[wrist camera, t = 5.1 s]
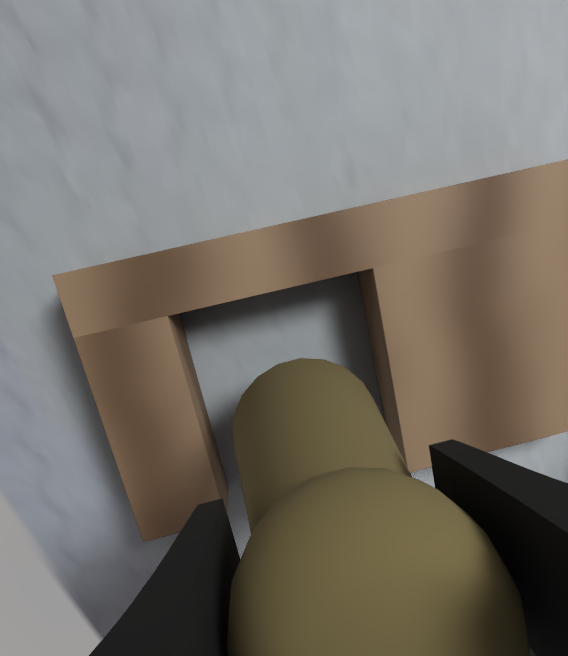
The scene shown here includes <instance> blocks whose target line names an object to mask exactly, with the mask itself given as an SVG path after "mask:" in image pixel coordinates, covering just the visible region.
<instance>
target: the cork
mask: <svg viewBox="0 0 568 656" xmlns="http://www.w3.org/2000/svg"><path fill="white" fill-rule="evenodd" d="M232 440H233V445H234V450H235V455H236V460H237V465H238V470H239V475H240V480H241V485H242V490H243V495H244V500H245V505H246V510H247V515H248V520H249V525H250V530H251V536H250V538H249V541H248V543H247V545H246V548H245V550H244V553H243V555H242V557H241V560H240V562H239V565H238V567H237V569H236V572H235V574H234V577H233V579H232V583H231V593H230V603H229V619H228V636H227V653H228V656H530V652H529V641H528V633H527V628H526V622H525V617H524V612H523V606H522V601H521V596H520V593H519V591H518V589H517V587H516V585H515V583H514V581H513V579H512V577H511V575H510V573H509V571H508V569H507V567H506V565H505V564H504V562H503V560H502V559H501V557H500V555H499V554H498V552H497V550H496V549H495V547H494V545H493V544H492V542H491V540H490V539H489V537H488V535H487V534H486V532H485V531H484V530H483V529H482V528H481V527H480V526H479V525H478V524H477V523H476V522H475V521H474V520H473V519H472V518H471V517H470V515H469V514H467V513H466V512H465V511H464V510H462V509H461V508H460V507H459V506H458V505H456V504H455V503H454V502H453V501H451V500H450V499H449V498H448V497H446V496H445V495H444V494H443V493H441V492H440V491H439V490H438V489H436V488H434V487H432V486H430V485H428V484H426V483H424V482H422V481H420V480H417V479H415V478H412V476H411V474H410V472H409V470H408V468H407V466H406V464H405V462H404V460H403V458H402V456H401V454H400V452H399V450H398V447H397V445H396V443H395V441H394V439H393V437H392V435H391V433H390V431H389V429H388V427H387V425H386V423H385V421H384V419H383V417H382V415H381V413H380V411H379V409H378V407H377V405H376V403H375V401H374V399H373V398H372V396H371V394H370V393H369V391H368V390H367V388H366V386H365V385H364V383H363V382H362V381H361V380H360V379H358V378H357V377H356V376H355V375H354V374H352V373H351V372H350V371H349V370H348V369H346V368H345V367H342V366H339V365H337V364H334V363H332V362H329V361H327V360H323V359H305V358H300V359H296V360H292V361H288V362H284V363H281V364H277V365H276V366H274V367H272V368H271V369H269V370H268V371H266V372H265V373H263V374H261V375H260V376H258V377H257V378H256V379H255V380H254V382H253V383H252V384H251V385H250V386H249V388H248V389H247V390H246V391H245V392H244V394H243V395H242V397H241V399H240V402H239V404H238V407H237V409H236V412H235V414H234V418H233V436H232Z"/></svg>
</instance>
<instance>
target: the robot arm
mask: <svg viewBox="0 0 568 656" xmlns="http://www.w3.org/2000/svg"><path fill="white" fill-rule="evenodd" d="M429 451H430V457H431V464H432V470H433V476H434V482H435V488H436V489H438V490H439V491H440V492H441V493H443V494H444V495H445V496H446V497H448V498H449V499H450V500H451V501H453V502H454V503H455V504H456V505H458V506H459V507H460V508H461V509H462V510H464V511H465V512H466V513H467V514H469V515H470V517H471V518H472V519H473V520H474V521H475V522H476V523H477V524H478V525H479V526H480V527H481V528H482V529H483V530H484V531H485V532H486V534H487V535H488V537H489V539H490V540H491V542H492V544H493V545H494V547H495V549H496V550H497V552H498V554H499V555H500V557H501V559H502V560H503V562H504V564H505V565H506V567H507V569H508V571H509V573H510V575H511V577H512V579H513V581H514V583H515V585H516V587H517V589H518V591H519V593H520V596H521V601H522V606H523V612H524V617H525V622H526V628H527V633H528V641H529V646H530V647H531V649H532V650H533V652H534V653H535V654H536V656H568V483H565V482H562V481H559V480H556V479H553V478H551V477H548V476H545V475H543V474H540V473H537V472H535V471H532V470H529V469H527V468H524V467H522V466H519V465H517V464H514V463H512V462H509V461H507V460H504V459H502V458H499V457H497V456H494V455H492V454H490V453H487V452H485V451H482V450H480V449H477V448H475V447H472V446H470V445H467V444H465V443H462V442H459V441H456V440H453V439H451V440H447V441H443V442H439V443H435V444H431V445H429ZM239 562H240V557H239V554H238V550H237V547H236V543H235V540H234V536H233V533H232V529H231V526H230V522H229V519H228V515H227V512H226V508H225V505H224V501H223V498H222V499H218V500H214V501H210V502H206V503H202V504H198V505H197V507H196V508H195V510H194V511H193V513H192V514H191V516H190V517H189V519H188V521H187V522H186V524H185V525H184V527H183V529H182V530H181V532H180V533H179V535H178V537H177V538H176V540H175V541H174V543H173V544H172V546H171V548H170V549H169V551H168V552H167V554H166V555H165V557H164V558H163V560H162V561H161V563H160V564H159V566H158V567H157V569H156V570H155V572H154V573H153V575H152V576H151V577H150V579H149V580H148V582H147V583H146V584H145V586H144V587H143V588H142V590H141V591H140V593H139V594H138V595H137V597H136V598H135V599H134V601H133V602H132V604H131V605H130V606H129V608H128V609H127V610H126V612H125V613H124V614H123V615H122V617H121V618H120V619H119V620H118V622H117V623H116V624H115V625H114V627H113V628H112V629H111V630H110V632H109V633H108V634H107V635H106V636H105V637H104V639H103V640H102V641H101V642H100V643H99V644H98V646H97V647H96V648H95V649H94V650H93V651H92V653H91V654H90V655H89V656H228V653H227V636H228V619H229V603H230V593H231V583H232V579H233V577H234V574H235V572H236V569H237V567H238V565H239Z"/></svg>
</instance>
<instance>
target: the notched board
mask: <svg viewBox="0 0 568 656" xmlns="http://www.w3.org/2000/svg"><path fill="white" fill-rule="evenodd" d="M354 272H358V276H359V281H360V287H361V292H362V298H363V303H364V309H365V314H366V320H367V325H368V331H369V337H370V342H371V348H372V353H373V359H374V364H375V370H376V375H377V381H378V386H379V392H380V397H381V403H382V408H383V414H384V419H385V423H386V425H387V427H388V429H389V431H390V433H391V435H392V437H393V439H394V441H395V443H396V445H397V447H398V450H399V452H400V454H401V456H402V458H403V460H404V462H405V464H406V466H407V468H408V470H409V472H413V471H417V470H421V469H425V468H429V467H432V464H431V457H430V451H429V445H431V444H435V443H439V442H443V441H447V440H451V439H453V440H456V441H459V442H462V443H465V444H467V445H470V446H472V447H475V448H477V449H480V450H482V451H485V452H490V451H494V450H498V449H501V448H505V447H509V446H513V445H517V444H521V443H525V442H528V441H532V440H536V439H540V438H544V437H548V436H551V435H555V434H559V433H563V432H567V431H568V160H564V161H559V162H555V163H550V164H546V165H541V166H537V167H532V168H528V169H524V170H519V171H515V172H510V173H506V174H501V175H497V176H492V177H488V178H484V179H479V180H475V181H470V182H466V183H461V184H457V185H452V186H448V187H444V188H439V189H435V190H430V191H426V192H421V193H417V194H412V195H408V196H404V197H399V198H395V199H390V200H386V201H381V202H377V203H372V204H368V205H364V206H359V207H355V208H350V209H346V210H341V211H337V212H332V213H328V214H324V215H319V216H315V217H310V218H306V219H301V220H297V221H292V222H288V223H284V224H279V225H275V226H270V227H266V228H261V229H257V230H252V231H248V232H244V233H239V234H235V235H230V236H226V237H221V238H217V239H212V240H208V241H204V242H199V243H195V244H190V245H186V246H181V247H177V248H172V249H168V250H163V251H159V252H155V253H150V254H146V255H141V256H137V257H132V258H128V259H123V260H119V261H115V262H110V263H106V264H101V265H97V266H92V267H88V268H83V269H79V270H75V271H70V272H66V273H61V274H57V275H52V277H53V280H54V283H55V285H56V288H57V291H58V294H59V297H60V300H61V303H62V306H63V309H64V312H65V315H66V318H67V321H68V323H69V326H70V329H71V332H72V335H73V338H74V341H75V344H76V347H77V350H78V353H79V356H80V359H81V361H82V364H83V367H84V370H85V373H86V376H87V379H88V382H89V385H90V388H91V391H92V394H93V397H94V399H95V402H96V405H97V408H98V411H99V414H100V417H101V420H102V423H103V426H104V429H105V432H106V434H107V437H108V440H109V443H110V446H111V449H112V452H113V455H114V458H115V461H116V464H117V467H118V470H119V472H120V475H121V478H122V481H123V484H124V487H125V490H126V493H127V496H128V499H129V502H130V505H131V508H132V510H133V513H134V516H135V519H136V522H137V525H138V528H139V531H140V534H141V537H142V540H143V542H145V541H149V540H152V539H156V538H160V537H164V536H168V535H172V534H175V533H179V532H181V530H182V529H183V527H184V525H185V524H186V522H187V521H188V519H189V517H190V516H191V514H192V513H193V511H194V510H195V508H196V507H197V505H198V504H202V503H206V502H210V501H214V500H218V499H222V498H223V501H224V505H225V508H226V512H227V501H228V485H227V482H226V478H225V474H224V471H223V467H222V464H221V460H220V457H219V453H218V450H217V446H216V442H215V439H214V435H213V432H212V428H211V425H210V421H209V418H208V414H207V410H206V407H205V403H204V400H203V396H202V393H201V389H200V386H199V382H198V378H197V375H196V371H195V368H194V364H193V361H192V357H191V353H190V350H189V346H188V343H187V339H186V336H185V332H184V329H183V325H182V321H181V318H180V314H179V313H183V312H187V311H191V310H195V309H200V308H204V307H208V306H213V305H217V304H221V303H225V302H230V301H234V300H238V299H243V298H247V297H251V296H255V295H260V294H264V293H268V292H273V291H277V290H281V289H286V288H290V287H294V286H298V285H303V284H307V283H311V282H316V281H320V280H324V279H328V278H333V277H337V276H341V275H346V274H350V273H354Z"/></svg>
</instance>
